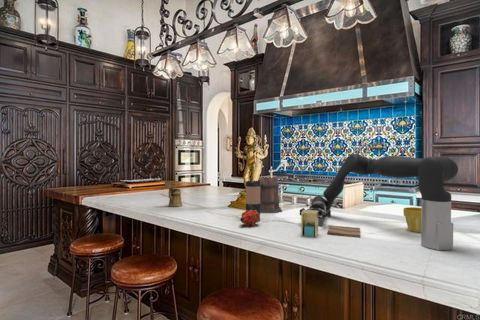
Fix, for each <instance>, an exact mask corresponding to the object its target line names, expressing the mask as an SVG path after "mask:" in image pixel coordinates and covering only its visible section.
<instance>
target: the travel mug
mask: <svg viewBox="0 0 480 320" xmlns="http://www.w3.org/2000/svg"><path fill="white" fill-rule="evenodd" d="M250 209H252V210H253V211H254V210H257V212H258V213H259V216H260V218H259V220H260V221H261V213H260V180H247V181H245V211H246V210H248V211H250Z"/></svg>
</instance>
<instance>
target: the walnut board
mask: <svg viewBox="0 0 480 320" xmlns="http://www.w3.org/2000/svg"><path fill="white" fill-rule="evenodd" d="M326 234H327V235H328V236H341V237H350V238H351V237H352V238H361V228H360V227H352V226H341V225H329V226H328V229H327V232H326Z"/></svg>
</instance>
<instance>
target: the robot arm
mask: <svg viewBox="0 0 480 320" xmlns="http://www.w3.org/2000/svg"><path fill="white" fill-rule="evenodd" d="M350 173H354V174H357V175H362V176H363V175H377V176H381V177H389V178H417V177H418V189H419V192H420V194H421V206H420V208H421V232H420V245H421V246H422V247H425V248H428V249H433V250H436V251H450V250H454V223H453V222H452V194H451V192H448V191H447V190H446V189H445V188H444V182H447V181H450V180H452V179H454V178H455V177H456V176H457V174H458V173H459V167H458V164H457V162H456V161H454V160H453V159H452V158H450V157H447V156H427V157H424V158H417V157H411V156H410V157H409V156H399V155H386V156H385V155H384V156H382V157H380V158H378V159H375V158H368V157H366V156H363V155H360V154H357V153H351V154H349V155H348V156H347V157H346V159H344V161H343V163H342V165H341V166H340V168H339V170H338V171H337V173H336V175H335V177H334V178H333V179H332V181H331V183H330V184H329V185H328V186H327V187H326V188H325V190H324V191H323V193H322V195H323V196H321V195H316V196H314V197H313V199H312V200H311V205H310V206H309V208H306V209H305V207H304V208H303V207H301V209H299V216H301V212H302V211H303V210H316V211H318V219H321V218H322V219H326V218H331V216H332V211H331V208H332V206H333V204H334V202H335V200H336V199H337V198H338V197H339V195H340V194H341V193H342V192H343V190H344V186H345V181H346V177H348V175H349V174H350Z"/></svg>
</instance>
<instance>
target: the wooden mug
mask: <svg viewBox="0 0 480 320" xmlns="http://www.w3.org/2000/svg"><path fill="white" fill-rule="evenodd" d="M163 183H164V185H165V187H166V188H167V189H168V198H169V200H168V206H167V207H168V208H181V207H183V202H182V196H181V194H182V192H181V189H180V188H174V185H173V183H172V182H171V181H169V180H168V179H165V180H164V182H163ZM180 206H181V207H180Z"/></svg>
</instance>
